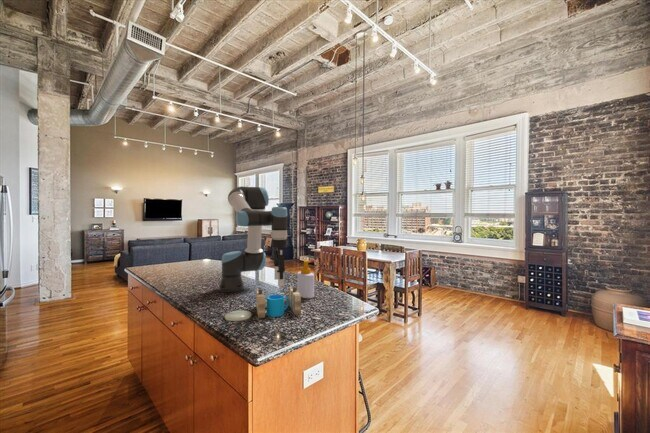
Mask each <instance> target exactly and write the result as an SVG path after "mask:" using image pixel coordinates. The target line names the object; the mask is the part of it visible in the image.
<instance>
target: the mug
mask: <svg viewBox="0 0 650 433" xmlns="http://www.w3.org/2000/svg"><path fill="white" fill-rule="evenodd" d="M284 299H286V300H287V305H286V306H284ZM288 299H289V297H286V296H284V295H283V294H270V295H268V296H267V297H266V300H267V308H266V316H268V317H270V318H271V317H272V318H273V317H274V318H276V317H281V316H284V314H285V311H286V310H288V307H290V306H289V300H288Z"/></svg>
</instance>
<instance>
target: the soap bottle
mask: <svg viewBox="0 0 650 433" xmlns="http://www.w3.org/2000/svg"><path fill="white" fill-rule="evenodd" d="M309 263H312V260H304V261H303V267H302V268H301V269H300V271H298V272H297V279H296V280H297V286H296V287H297V291H298V292H299V293H300V295H301V298H303V299H313V298H314V297H315V274H314V272H311V271H312V270H311V268H310V267H309Z"/></svg>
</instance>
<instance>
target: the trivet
mask: <svg viewBox="0 0 650 433" xmlns="http://www.w3.org/2000/svg"><path fill="white" fill-rule="evenodd" d="M251 317H252V312H251V311H249V310H233V311H229V312H227V313H225V314H224V320H226V321H228V322H242V321H245V320H248V319H250V318H251Z"/></svg>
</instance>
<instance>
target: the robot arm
mask: <svg viewBox="0 0 650 433" xmlns="http://www.w3.org/2000/svg"><path fill="white" fill-rule="evenodd" d="M269 200H270V199H269V194H268V190H267V189H266V188H265V187H259V186H257V187H256V186H237V187H235V188H233V189H232V190H230V192H229V193H228V196H227V201H228V203H229V205H230V206H231V207H233V209H234V210H235V223H236V226H238V227H247V244H246V246H247V247H246V248H245V249H244V253H242V251H240V250H235V251H230V252H226V253H223V254H222V256H221V279H220V282H219V284H218V291H219V292H221V293H236V292H240V291H243V290H244V289H245V284H244V282H243V278H242V272H243V273H246V272H257V271H262V270H263V269H264V268H265V266H266V261H267V256H266V252H264V249H262V236H263V235H262V232H263V230H262V229H263V227H265V226H266V227H271V231H269V234H270V235H271V244H270V245H271V247H272V248H274V259H273V260H274V262H273V264H274V280H277V286H278V287H284V286H285V271H286V269H285V268H286V266H285V250H283V249H284V248H287V247H288V208H287V207H286V206H285V207H283V206H273V207H271V210H266V207H268V205H269V204H270V203H269V202H270V201H269Z"/></svg>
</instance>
